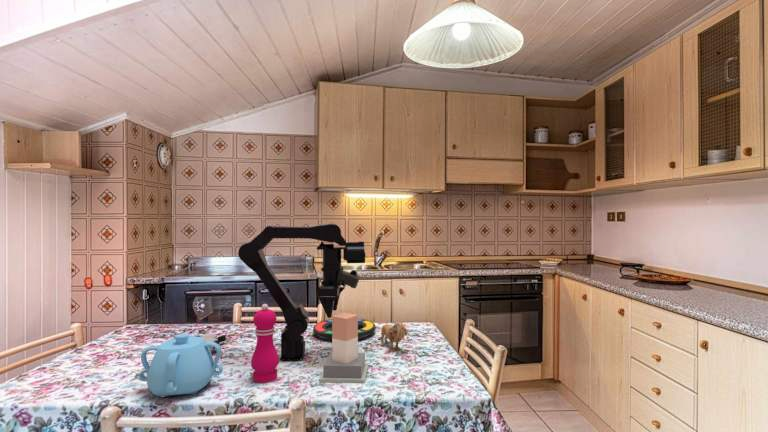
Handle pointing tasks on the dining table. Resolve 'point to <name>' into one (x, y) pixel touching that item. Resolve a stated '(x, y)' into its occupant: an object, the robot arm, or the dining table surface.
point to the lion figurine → (393, 334)
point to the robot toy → (213, 339)
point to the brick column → (344, 337)
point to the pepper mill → (264, 347)
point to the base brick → (345, 370)
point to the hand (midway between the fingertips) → (332, 313)
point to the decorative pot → (180, 365)
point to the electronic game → (325, 329)
